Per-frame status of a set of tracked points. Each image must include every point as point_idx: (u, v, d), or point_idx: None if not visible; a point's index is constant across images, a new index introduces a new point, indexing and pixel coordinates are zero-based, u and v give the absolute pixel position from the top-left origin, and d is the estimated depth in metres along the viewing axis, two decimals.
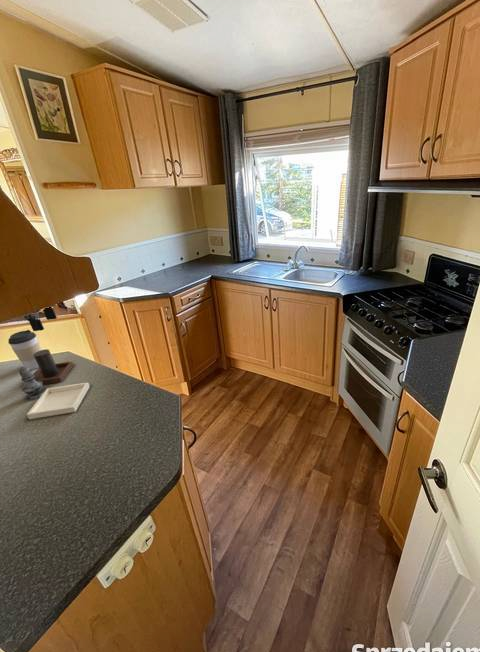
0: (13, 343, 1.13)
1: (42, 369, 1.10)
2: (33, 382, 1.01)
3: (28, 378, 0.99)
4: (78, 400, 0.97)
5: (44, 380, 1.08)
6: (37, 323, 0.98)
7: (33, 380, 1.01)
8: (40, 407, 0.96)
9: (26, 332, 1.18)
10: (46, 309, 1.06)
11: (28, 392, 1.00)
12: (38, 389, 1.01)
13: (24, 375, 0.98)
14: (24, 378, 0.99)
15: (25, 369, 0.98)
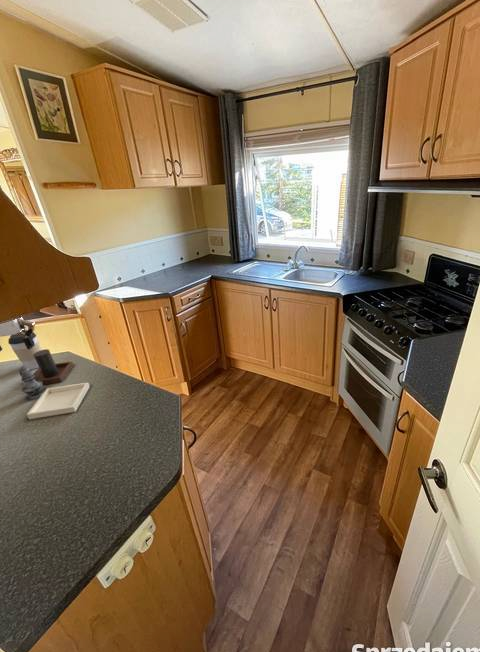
0: (13, 343, 1.13)
1: (42, 369, 1.10)
2: (33, 382, 1.01)
3: (28, 378, 0.99)
4: (78, 400, 0.97)
5: (44, 380, 1.08)
6: None
7: (33, 380, 1.01)
8: (40, 407, 0.96)
9: None
10: None
11: (28, 392, 1.00)
12: (38, 389, 1.01)
13: (24, 375, 0.98)
14: (24, 378, 0.99)
15: (25, 369, 0.98)
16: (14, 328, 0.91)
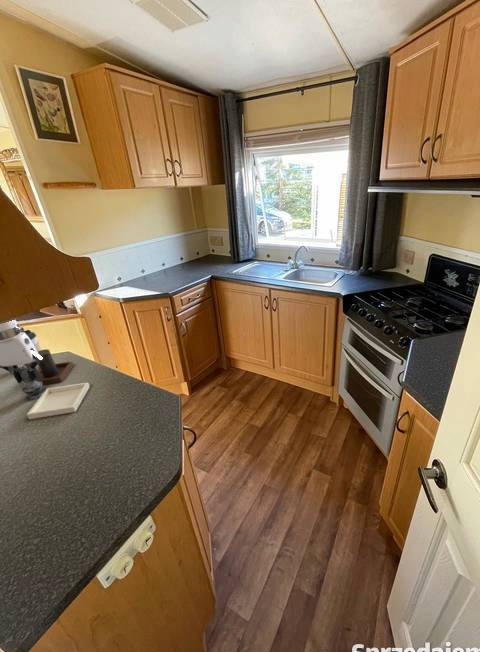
0: None
1: (42, 369, 1.10)
2: (33, 382, 1.01)
3: (28, 378, 0.99)
4: (78, 400, 0.97)
5: (44, 380, 1.08)
6: None
7: None
8: (40, 407, 0.96)
9: (26, 332, 1.18)
10: None
11: (28, 392, 1.00)
12: (38, 389, 1.01)
13: (24, 375, 0.98)
14: (24, 378, 0.99)
15: (25, 369, 0.98)
16: (27, 358, 0.95)
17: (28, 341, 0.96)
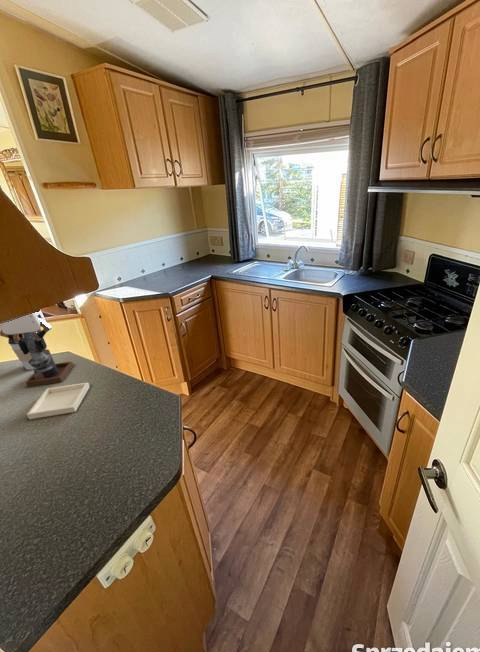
0: (13, 343, 1.13)
1: None
2: (40, 353, 0.91)
3: (35, 349, 0.89)
4: (78, 400, 0.97)
5: (44, 380, 1.08)
6: None
7: (40, 352, 0.91)
8: (40, 407, 0.96)
9: None
10: None
11: (35, 365, 0.90)
12: (46, 362, 0.92)
13: (31, 345, 0.88)
14: (31, 349, 0.89)
15: (32, 339, 0.89)
16: (34, 325, 0.85)
17: None
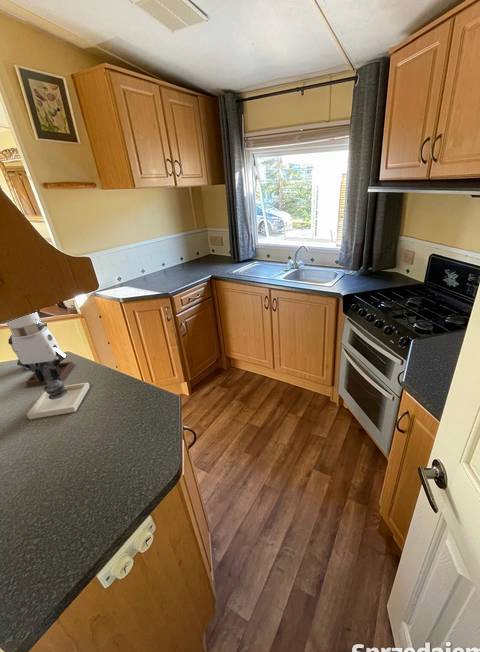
0: None
1: None
2: (55, 381, 0.95)
3: (50, 377, 0.93)
4: (78, 400, 0.97)
5: (44, 380, 1.08)
6: None
7: None
8: (40, 407, 0.96)
9: None
10: None
11: (50, 392, 0.94)
12: (60, 388, 0.96)
13: (46, 373, 0.92)
14: (46, 377, 0.93)
15: (47, 367, 0.93)
16: (50, 355, 0.90)
17: (51, 337, 0.90)
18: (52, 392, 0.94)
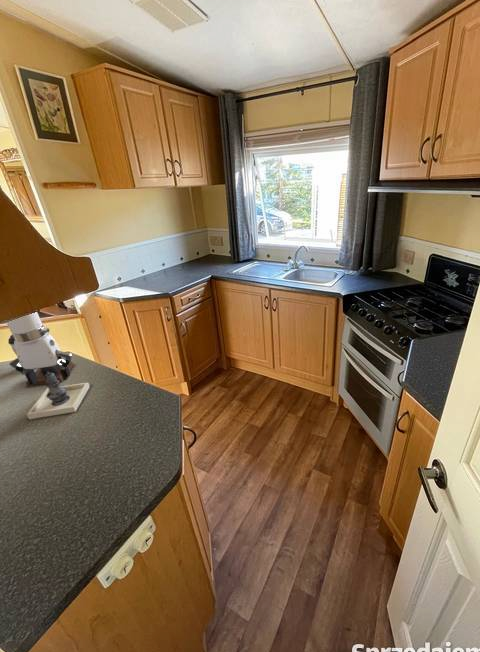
0: (13, 343, 1.13)
1: (42, 369, 1.10)
2: (58, 387, 0.96)
3: (53, 384, 0.95)
4: (78, 400, 0.97)
5: (44, 380, 1.08)
6: None
7: (58, 386, 0.96)
8: (40, 407, 0.96)
9: None
10: None
11: (53, 398, 0.95)
12: (63, 395, 0.97)
13: (49, 380, 0.94)
14: (49, 384, 0.94)
15: (50, 374, 0.94)
16: (52, 360, 0.90)
17: (53, 342, 0.91)
18: (55, 399, 0.95)
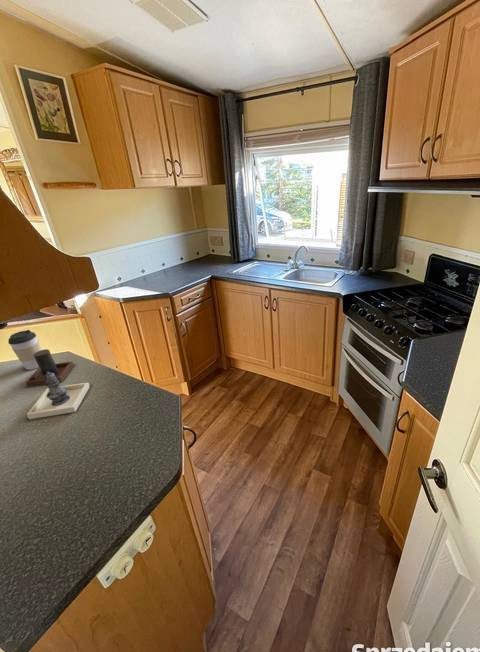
0: (13, 343, 1.13)
1: (42, 369, 1.10)
2: (58, 387, 0.96)
3: (53, 384, 0.95)
4: (78, 400, 0.97)
5: (44, 380, 1.08)
6: None
7: (58, 386, 0.96)
8: (40, 407, 0.96)
9: (26, 332, 1.18)
10: None
11: (53, 398, 0.95)
12: (63, 395, 0.97)
13: (49, 380, 0.94)
14: (49, 384, 0.94)
15: (50, 374, 0.94)
16: None
17: None
18: (55, 399, 0.95)
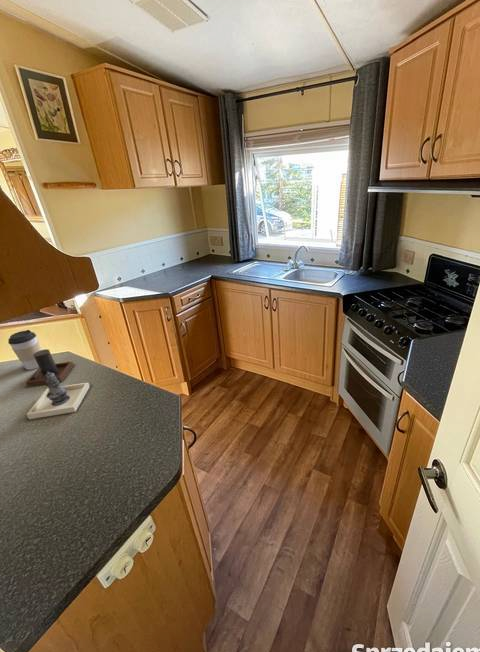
0: (13, 343, 1.13)
1: (42, 369, 1.10)
2: (58, 387, 0.96)
3: (53, 384, 0.95)
4: (78, 400, 0.97)
5: (44, 380, 1.08)
6: None
7: (58, 386, 0.96)
8: (40, 407, 0.96)
9: (26, 332, 1.18)
10: None
11: (53, 398, 0.95)
12: (63, 395, 0.97)
13: (49, 380, 0.94)
14: (49, 384, 0.94)
15: (50, 374, 0.94)
16: None
17: None
18: (55, 399, 0.95)
